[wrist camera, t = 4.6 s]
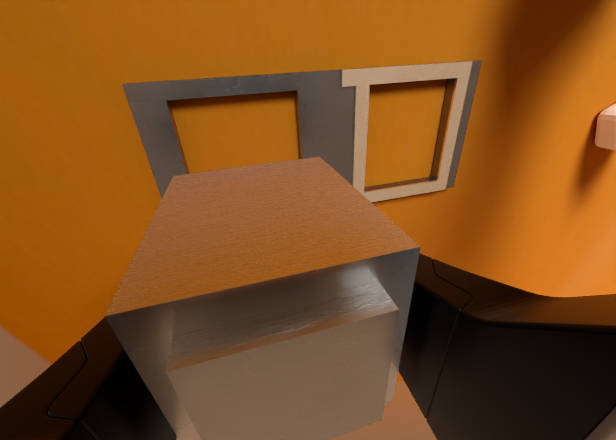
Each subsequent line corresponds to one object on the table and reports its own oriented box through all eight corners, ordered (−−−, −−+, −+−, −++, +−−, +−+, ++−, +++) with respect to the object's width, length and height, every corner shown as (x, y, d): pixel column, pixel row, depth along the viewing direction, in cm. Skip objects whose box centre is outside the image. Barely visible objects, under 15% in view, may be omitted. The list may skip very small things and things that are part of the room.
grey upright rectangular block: (319, 156, 10) (443, 266, 4) (323, 265, 12) (405, 425, 7) (173, 176, 9) (86, 354, 3) (209, 289, 11) (193, 503, 6)
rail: (473, 60, 21) (484, 60, 20) (447, 184, 26) (455, 187, 25) (126, 83, 16) (120, 84, 15) (176, 229, 21) (174, 236, 20)
